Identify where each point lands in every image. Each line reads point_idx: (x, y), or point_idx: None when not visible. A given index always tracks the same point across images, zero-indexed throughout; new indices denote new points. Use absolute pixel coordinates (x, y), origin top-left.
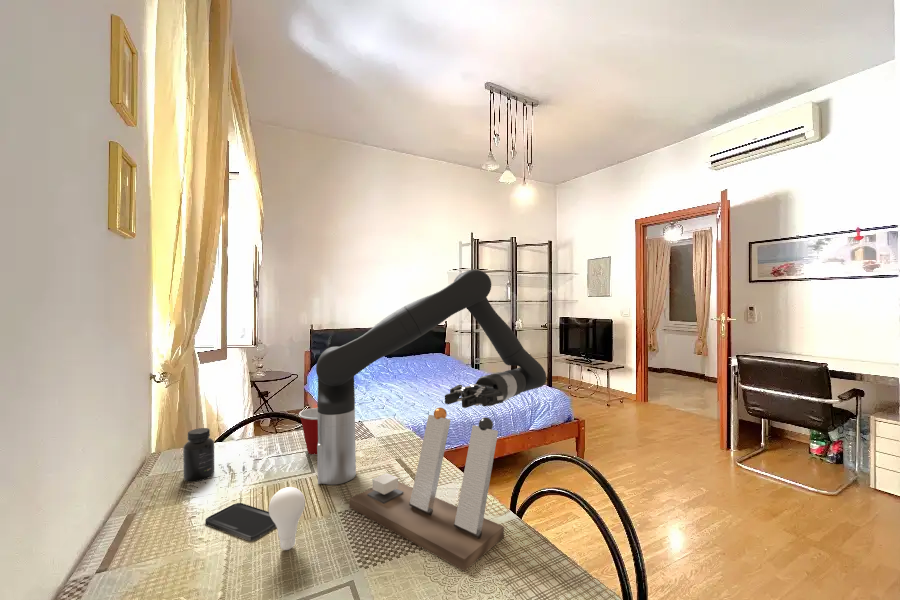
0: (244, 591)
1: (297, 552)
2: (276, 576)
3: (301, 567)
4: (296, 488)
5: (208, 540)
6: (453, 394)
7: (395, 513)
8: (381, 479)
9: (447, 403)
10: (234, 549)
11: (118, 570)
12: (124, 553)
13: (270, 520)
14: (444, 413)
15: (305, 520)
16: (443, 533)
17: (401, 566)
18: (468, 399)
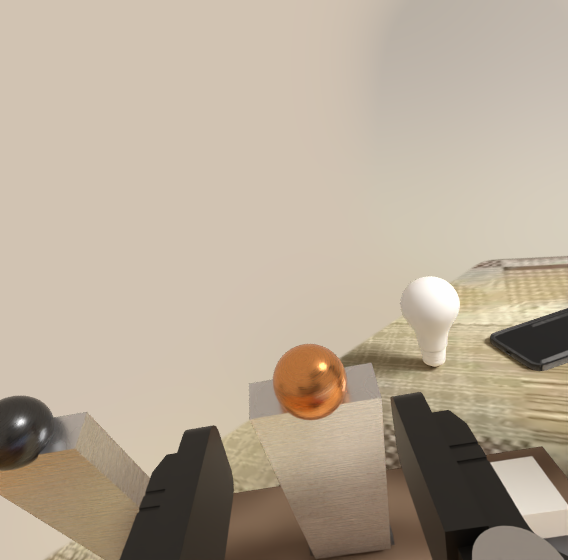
0: (377, 333)
1: (417, 371)
2: (380, 352)
3: (377, 370)
4: (431, 290)
5: (523, 312)
6: (419, 473)
7: (389, 493)
8: (514, 473)
9: (398, 452)
10: (478, 328)
11: (497, 274)
12: (535, 272)
13: (539, 353)
14: (273, 377)
15: (521, 393)
16: (234, 528)
17: (266, 455)
18: (169, 473)
